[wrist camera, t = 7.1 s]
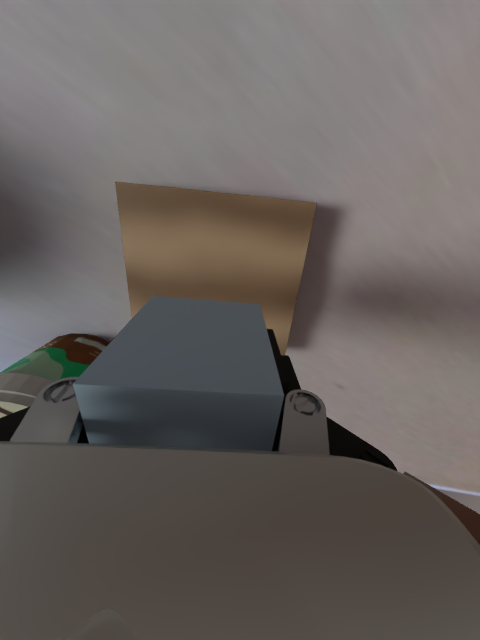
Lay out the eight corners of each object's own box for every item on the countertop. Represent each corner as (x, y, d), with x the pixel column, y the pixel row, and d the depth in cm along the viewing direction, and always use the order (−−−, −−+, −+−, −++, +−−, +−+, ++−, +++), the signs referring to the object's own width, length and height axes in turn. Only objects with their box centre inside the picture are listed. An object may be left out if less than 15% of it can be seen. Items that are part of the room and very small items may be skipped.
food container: (61, 298, 23) (-51, 360, 14) (119, 335, 25) (54, 410, 16) (12, 374, 26) (-101, 462, 18) (65, 401, 28) (-11, 493, 19)
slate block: (152, 295, 11) (72, 383, 6) (260, 303, 11) (284, 395, 6) (158, 380, 13) (105, 504, 8) (248, 385, 13) (258, 508, 8)
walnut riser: (132, 184, 19) (115, 181, 16) (305, 202, 20) (317, 202, 17) (146, 337, 25) (136, 353, 22) (277, 345, 26) (283, 362, 23)
